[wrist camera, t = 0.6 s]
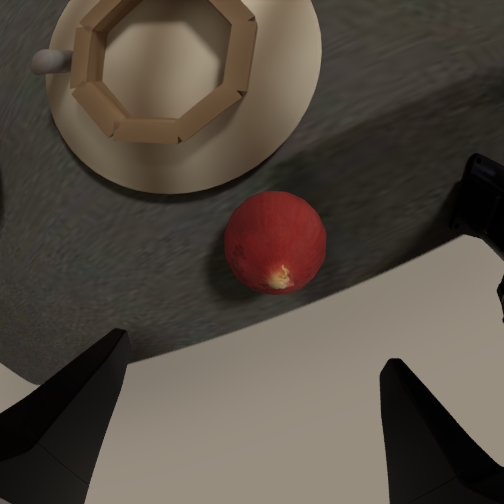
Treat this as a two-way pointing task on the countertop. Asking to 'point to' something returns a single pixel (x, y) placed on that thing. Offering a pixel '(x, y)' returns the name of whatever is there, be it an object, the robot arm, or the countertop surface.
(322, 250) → the onion
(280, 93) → the flange plate
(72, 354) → the countertop surface
